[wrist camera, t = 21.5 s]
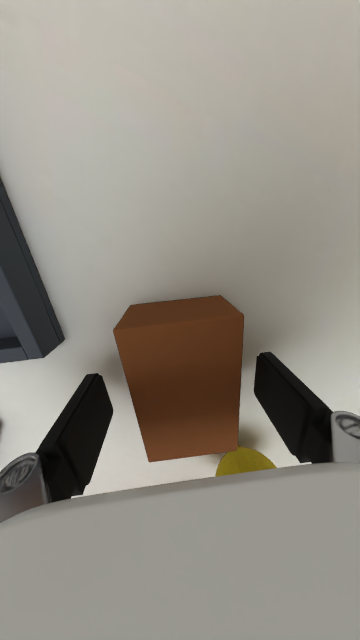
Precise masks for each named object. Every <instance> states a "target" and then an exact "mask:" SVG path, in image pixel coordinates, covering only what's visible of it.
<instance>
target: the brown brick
mask: <svg viewBox="0 0 360 640" xmlns="http://www.w3.org/2000/svg"><path fill="white" fill-rule="evenodd" d="M243 328H244V315H243V314H242V313H241V312H240V311H238V310H237V309H236V308H235V307H234V306H233V305H231V304H230V303H229V302H228V301H227V300H225V299H224V298H223V297H222V296H220V295H219V296H210V297H201V298H191V299H182V300H173V301H164V302H155V303H146V304H137V305H130V307H129V308H128V309H127V311H126V312H125V314H124V315H123V317H122V318H121V319H120V321H119V322H118V324H117V325H116V327H115V328H114V329H113V332H114V336H115V339H116V343H117V347H118V350H119V354H120V358H121V361H122V365H123V369H124V372H125V376H126V380H127V384H128V387H129V391H130V395H131V398H132V402H133V406H134V409H135V413H136V417H137V420H138V424H139V428H140V431H141V435H142V439H143V442H144V446H145V450H146V453H147V457H148V461H149V462H155V461H163V460H171V459H178V458H186V457H193V456H201V455H208V454H216V453H223V452H231V451H237V447H238V427H239V407H240V387H241V367H242V347H243Z"/></svg>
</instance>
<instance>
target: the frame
mask: <svg viewBox="0 0 360 640" xmlns="http://www.w3.org/2000/svg"><path fill="white" fill-rule="evenodd" d="M64 340H65V339H64V336H63V334H62V331H61V329H60V326H59V324H58V322H57V319H56V317H55V314H54V312H53V309H52V307H51V304H50V302H49V299H48V297H47V294H46V292H45V289H44V287H43V284H42V282H41V279H40V277H39V274H38V272H37V269H36V267H35V264H34V262H33V259H32V257H31V254H30V252H29V249H28V247H27V244H26V242H25V239H24V237H23V234H22V232H21V229H20V227H19V224H18V222H17V219H16V217H15V214H14V212H13V209H12V207H11V204H10V202H9V199H8V197H7V194H6V192H5V189H4V187H3V184H2V182H1V179H0V363H5V362H14V361H22V360H29V359H38V358H44V357H45V356H47V355H48V354H49V353H50V352H51V351H52V350H54V349H55V348H56V347H57V346H58V345H59V344H60V343H62V342H63V341H64Z"/></svg>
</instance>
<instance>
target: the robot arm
mask: <svg viewBox="0 0 360 640" xmlns="http://www.w3.org/2000/svg"><path fill="white" fill-rule="evenodd" d="M254 393H255V396H256V397H257V399H258V401H259V402H260V404H261V406H262V407H263V409H264V410H265V412H266V414H267V415H268V417H269V419H270V420H271V422H272V423H273V425H274V427H275V428H276V430H277V432H278V433H279V435H280V436H281V438H282V440H283V441H284V443H285V444H286V446H287V448H288V449H289V451H290V452H291V454H292V455H296V457H297V459H298V460H299V462H300V463H305V462H311V463H312V464H307V465H298V466H290V467H281V468H274V469H267V470H260V471H252V472H245V473H238V474H231V475H224V476H217V477H210V478H203V479H196V480H189V481H182V482H175V483H168V484H161V485H155V486H148V487H141V488H135V489H128V490H121V491H115V492H108V493H102V494H96V495H90V496H84V497H78V498H72V499H71V496H76V495H83V492H84V489H85V486H86V485H88V484H89V483H90V480H91V478H92V475H93V472H94V469H95V466H96V463H97V460H98V457H99V454H100V451H101V448H102V445H103V442H104V439H105V436H106V433H107V430H108V427H109V424H110V421H111V418H112V415H113V407H112V404H111V401H110V398H109V395H108V392H107V389H106V386H105V383H104V380H103V377H102V376H101V375H99V374H98V373H94V374H87V375H86V376H85V378H84V379H83V381H82V382H81V384H80V385H79V387H78V388H77V390H76V391H75V393H74V394H73V396H72V397H71V399H70V400H69V402H68V403H67V405H66V406H65V408H64V409H63V411H62V413H61V414H60V416H59V417H58V419H57V420H56V422H55V423H54V425H53V426H52V428H51V429H50V431H49V432H48V434H47V435H46V437H45V438H44V440H43V441H42V443H41V444H40V446H39V448H38V450H37V451H36V453H27V454H24V455H22V456H20V457H18V458H16V459H15V460H13V461H12V462H10V463H9V464H8V465H7V466H6V467H5V468H4V469H3V470H1V472H0V640H360V416H358V415H356V414H353V413H350V412H346V411H336V412H334V413H333V412H332V411H331V410H330V409H329V407H328V406H327V405H326V404H325V403H324V402H323V401H322V400H320V399H319V398H318V397H317V396H316V395H315V394H314V393H313V392H312V391H311V390H310V389H309V388H308V387H307V386H306V385H305V384H304V383H303V382H302V381H301V380H300V379H299V378H298V377H296V376H295V375H294V374H293V373H292V372H291V371H290V370H289V369H288V368H287V367H286V366H285V365H284V364H283V363H282V362H281V361H280V360H279V359H278V358H277V357H276V356H275V355H274V354H272V353H271V352H264V353H260V354H259V356H257V360H256V371H255V383H254Z"/></svg>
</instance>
